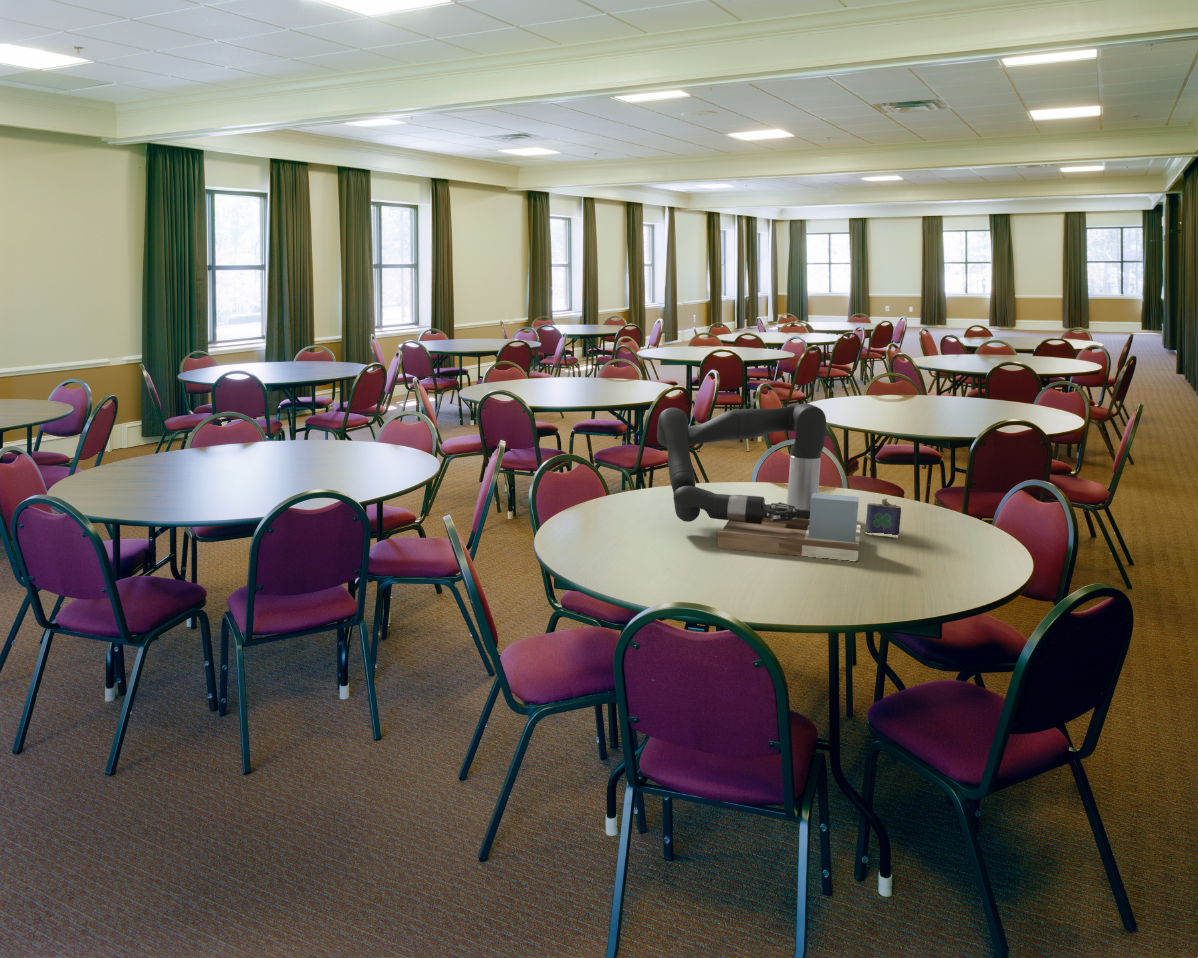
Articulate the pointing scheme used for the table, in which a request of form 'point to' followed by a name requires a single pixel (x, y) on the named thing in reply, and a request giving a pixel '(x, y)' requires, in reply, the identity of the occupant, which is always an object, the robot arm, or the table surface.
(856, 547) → the board
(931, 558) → the table surface
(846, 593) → the table surface
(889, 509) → the flask
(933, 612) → the table surface
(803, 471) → the robot arm
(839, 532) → the block
